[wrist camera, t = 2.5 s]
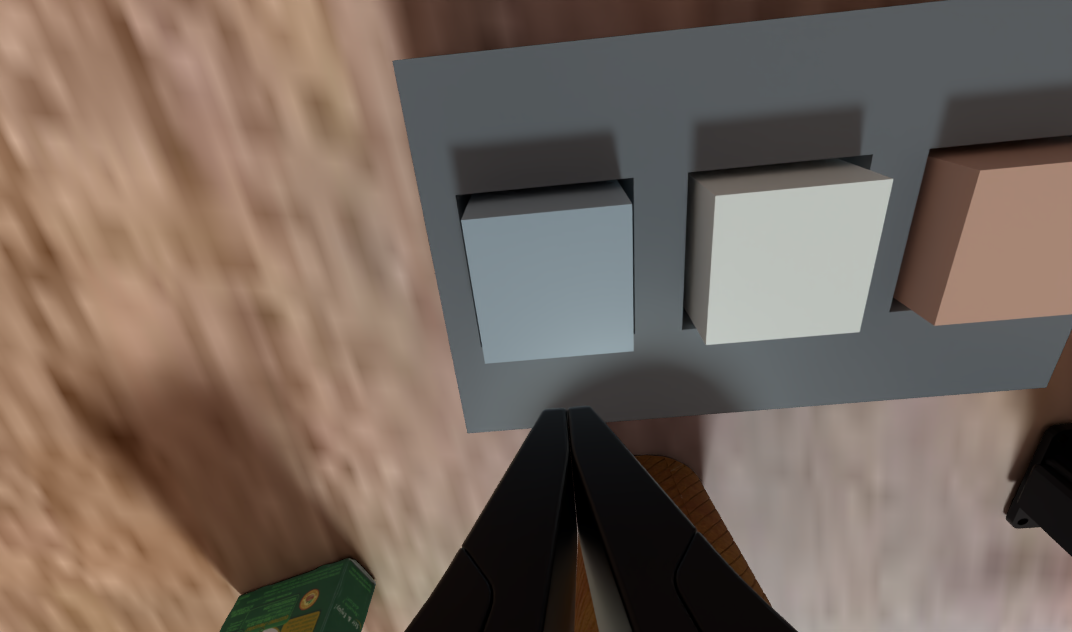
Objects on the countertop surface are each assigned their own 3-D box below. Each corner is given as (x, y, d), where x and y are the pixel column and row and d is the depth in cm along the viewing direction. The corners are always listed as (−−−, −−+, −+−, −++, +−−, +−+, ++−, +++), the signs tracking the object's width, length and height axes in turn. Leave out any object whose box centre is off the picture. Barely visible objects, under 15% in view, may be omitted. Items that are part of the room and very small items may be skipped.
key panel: (1057, -12, 16) (1229, -31, 12) (951, 324, 22) (1046, 387, 18) (425, 57, 17) (392, 60, 13) (479, 364, 22) (467, 433, 18)
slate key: (611, 170, 17) (631, 203, 13) (614, 293, 19) (633, 351, 15) (475, 183, 17) (461, 220, 13) (494, 304, 19) (485, 363, 15)
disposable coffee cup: (732, 412, 24) (894, 708, 13) (738, 549, 28) (863, 856, 17) (530, 445, 25) (527, 749, 14) (565, 573, 29) (584, 880, 18)
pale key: (815, 150, 16) (893, 178, 13) (796, 277, 18) (859, 332, 15) (676, 164, 17) (715, 196, 13) (672, 288, 19) (705, 345, 15)
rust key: (1026, 129, 16) (1165, 153, 13) (984, 260, 18) (1093, 312, 15) (883, 143, 16) (980, 170, 13) (856, 272, 18) (934, 325, 15)
